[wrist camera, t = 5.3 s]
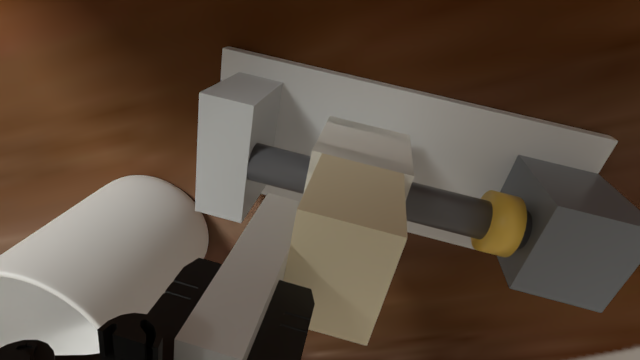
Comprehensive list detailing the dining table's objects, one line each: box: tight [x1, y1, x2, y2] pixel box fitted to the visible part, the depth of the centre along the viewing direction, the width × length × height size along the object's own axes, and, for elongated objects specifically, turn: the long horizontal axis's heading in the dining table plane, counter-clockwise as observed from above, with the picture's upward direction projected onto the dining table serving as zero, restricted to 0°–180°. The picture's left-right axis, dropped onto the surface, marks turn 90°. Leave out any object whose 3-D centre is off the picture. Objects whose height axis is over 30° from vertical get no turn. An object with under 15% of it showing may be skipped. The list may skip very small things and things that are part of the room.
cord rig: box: [195, 46, 640, 313], centre depth 18 cm, size 20×8×6 cm, turn 79°
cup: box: [0, 175, 209, 355], centre depth 23 cm, size 8×12×10 cm
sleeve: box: [283, 116, 414, 346], centre depth 15 cm, size 4×5×9 cm
